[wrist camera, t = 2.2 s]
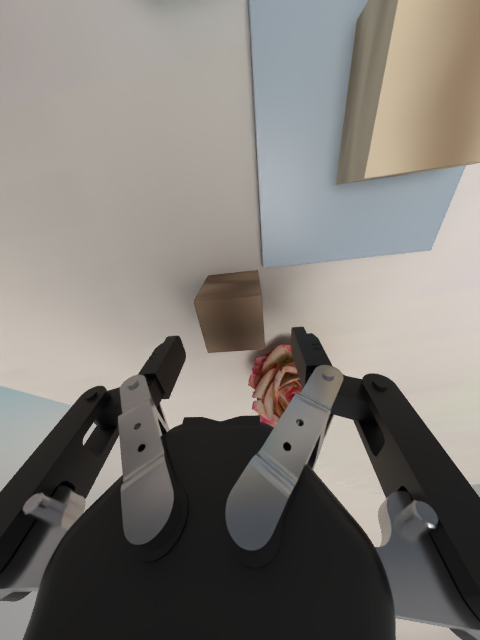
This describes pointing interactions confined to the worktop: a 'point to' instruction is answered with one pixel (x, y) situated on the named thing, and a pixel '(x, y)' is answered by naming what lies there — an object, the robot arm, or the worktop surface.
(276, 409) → the flower
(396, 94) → the base block
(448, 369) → the worktop surface
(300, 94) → the board
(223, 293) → the block walnut
